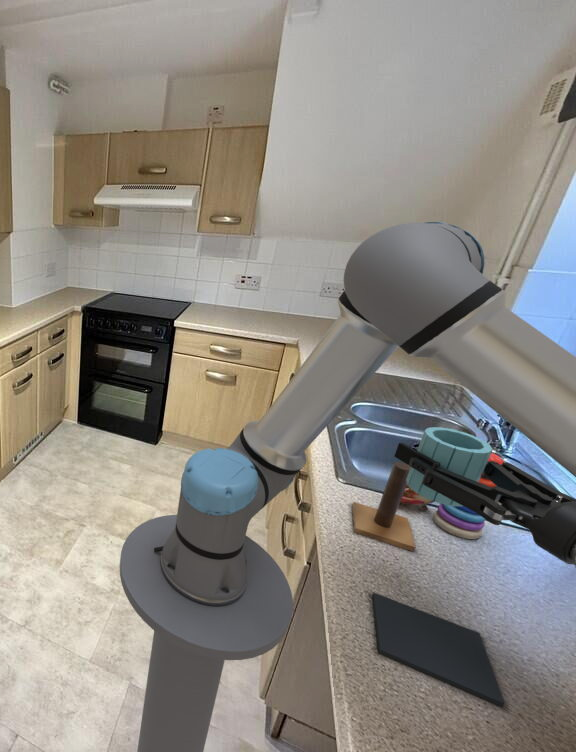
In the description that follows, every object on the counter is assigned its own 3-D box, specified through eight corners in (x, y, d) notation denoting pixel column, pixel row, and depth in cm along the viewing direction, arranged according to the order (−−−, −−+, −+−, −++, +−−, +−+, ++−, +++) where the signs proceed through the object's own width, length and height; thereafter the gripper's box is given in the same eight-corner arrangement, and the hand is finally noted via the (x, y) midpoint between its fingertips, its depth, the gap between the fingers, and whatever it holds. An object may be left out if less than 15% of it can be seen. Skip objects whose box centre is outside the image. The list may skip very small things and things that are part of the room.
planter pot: (410, 495, 68) (430, 443, 65) (403, 471, 75) (421, 422, 71) (474, 513, 65) (499, 458, 61) (461, 486, 71) (483, 435, 67)
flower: (444, 499, 96) (428, 466, 97) (454, 514, 88) (436, 478, 89) (395, 507, 101) (380, 476, 102) (400, 522, 93) (383, 488, 94)
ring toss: (354, 532, 87) (375, 470, 82) (352, 505, 95) (371, 447, 90) (413, 551, 83) (440, 487, 77) (406, 522, 91) (430, 461, 85)
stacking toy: (443, 535, 87) (476, 460, 80) (424, 511, 94) (454, 440, 87) (489, 544, 85) (527, 467, 78) (466, 519, 92) (500, 446, 85)
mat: (378, 652, 63) (379, 649, 63) (372, 595, 73) (373, 592, 73) (502, 707, 56) (505, 703, 56) (477, 636, 66) (479, 632, 66)
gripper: (514, 577, 51) (361, 470, 72) (644, 558, 54) (462, 461, 75) (540, 529, 48) (374, 432, 69) (675, 512, 51) (477, 425, 72)
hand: (420, 447), depth 72 cm, fingers closed on planter pot, 8 cm apart
